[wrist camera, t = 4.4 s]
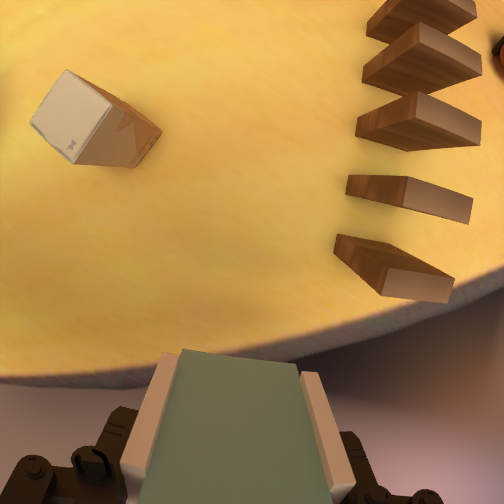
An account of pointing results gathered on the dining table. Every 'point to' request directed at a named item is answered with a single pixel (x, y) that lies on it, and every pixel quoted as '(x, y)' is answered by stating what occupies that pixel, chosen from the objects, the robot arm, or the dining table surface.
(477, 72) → the tile
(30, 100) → the dining table surface
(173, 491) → the tile
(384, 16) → the tile
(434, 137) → the tile
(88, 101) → the box
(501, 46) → the character figurine
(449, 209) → the tile
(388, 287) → the tile
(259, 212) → the dining table surface
